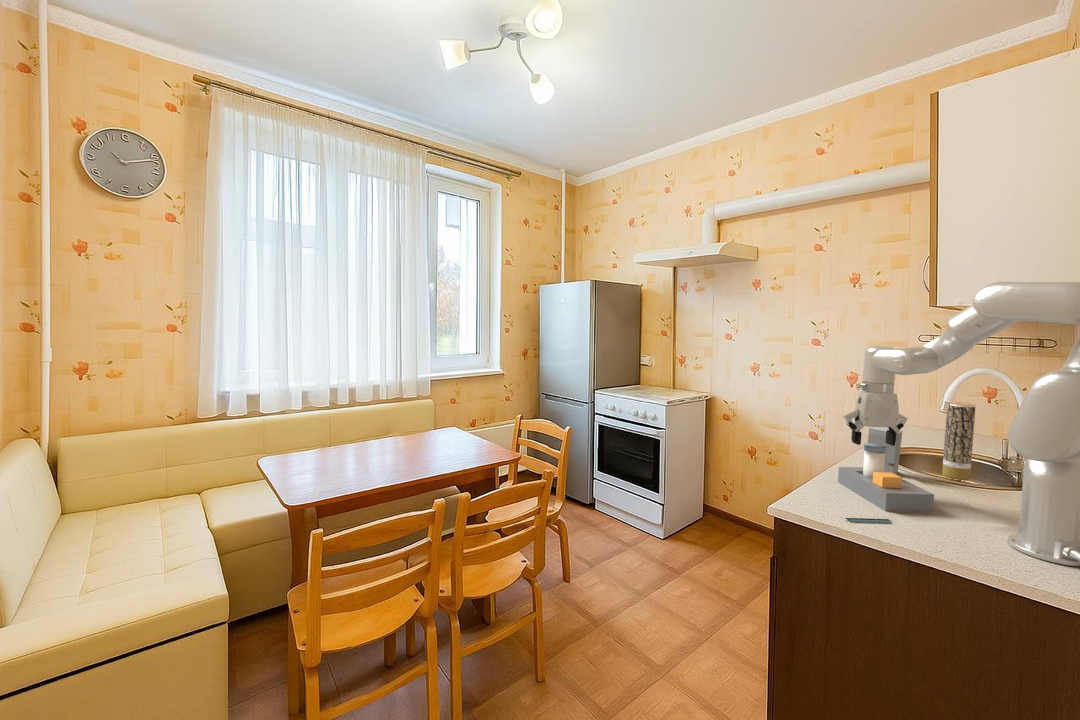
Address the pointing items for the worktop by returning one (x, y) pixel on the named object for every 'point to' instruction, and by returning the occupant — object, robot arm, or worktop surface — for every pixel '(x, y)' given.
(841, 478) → the housing
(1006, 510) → the worktop surface
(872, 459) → the cartridge
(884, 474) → the release slider
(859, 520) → the thin grey strip
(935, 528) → the worktop surface
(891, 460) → the skincare box
